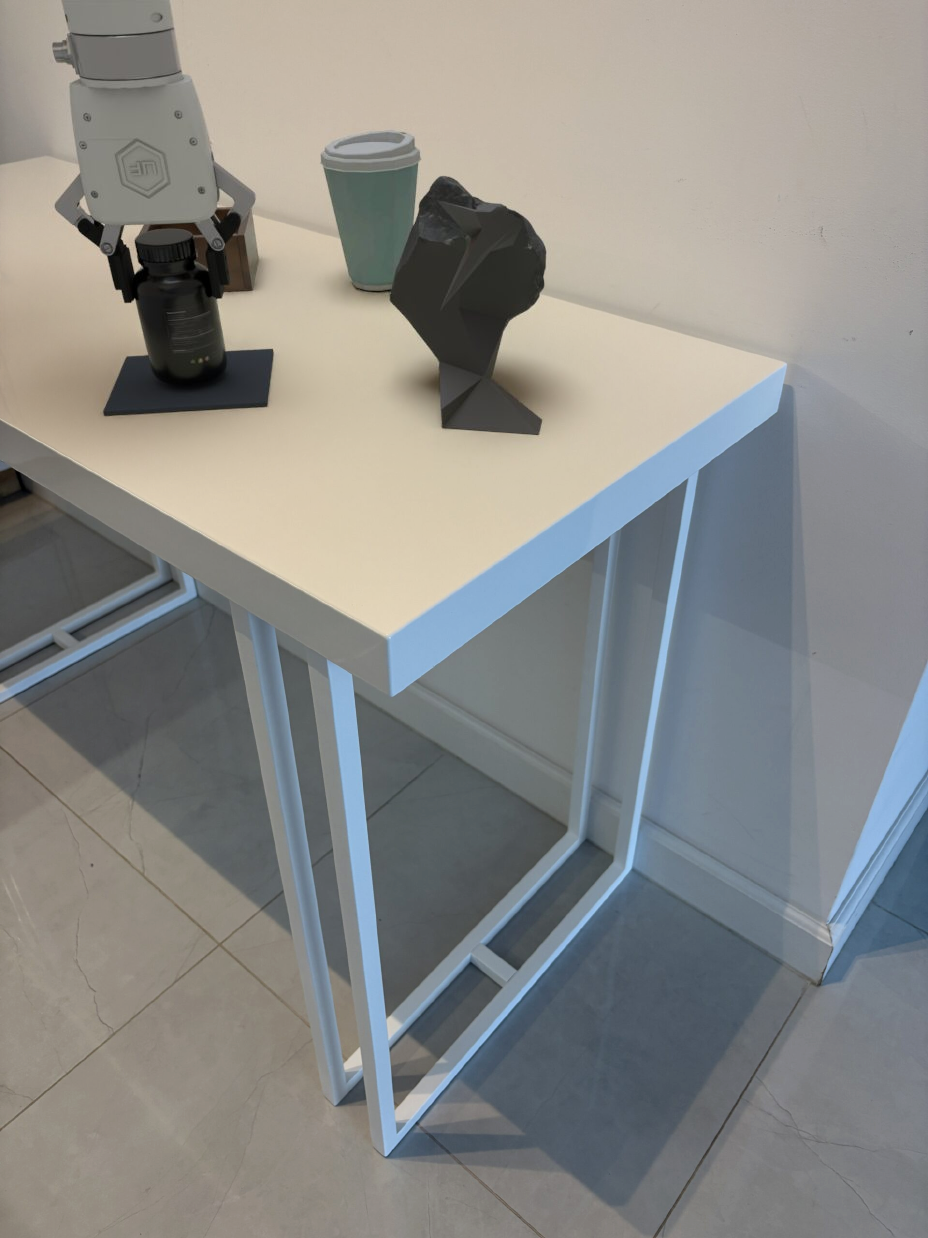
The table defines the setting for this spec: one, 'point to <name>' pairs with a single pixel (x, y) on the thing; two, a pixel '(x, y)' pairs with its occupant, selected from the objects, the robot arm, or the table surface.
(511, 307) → the dark grey faceted sculpture
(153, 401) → the mat
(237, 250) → the box
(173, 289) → the supplement bottle
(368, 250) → the disposable coffee cup
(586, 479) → the table surface
